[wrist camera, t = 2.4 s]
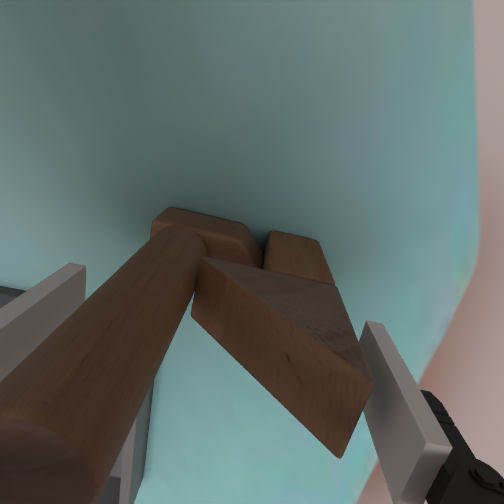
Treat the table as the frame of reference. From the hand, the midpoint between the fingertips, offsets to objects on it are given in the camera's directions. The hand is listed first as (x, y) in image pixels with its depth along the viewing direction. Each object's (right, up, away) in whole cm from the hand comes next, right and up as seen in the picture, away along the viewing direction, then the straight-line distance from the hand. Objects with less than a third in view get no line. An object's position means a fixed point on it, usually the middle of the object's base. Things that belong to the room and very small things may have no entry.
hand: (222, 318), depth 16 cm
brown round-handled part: (+1, +4, +9) cm, 9 cm away
